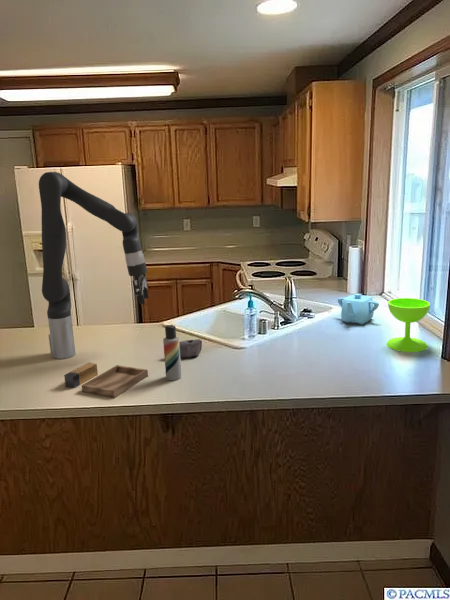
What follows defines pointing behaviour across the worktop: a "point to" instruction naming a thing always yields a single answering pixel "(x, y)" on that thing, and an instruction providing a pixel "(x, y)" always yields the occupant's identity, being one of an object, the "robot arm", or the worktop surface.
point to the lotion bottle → (172, 353)
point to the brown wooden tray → (115, 381)
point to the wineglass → (408, 322)
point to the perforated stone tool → (190, 348)
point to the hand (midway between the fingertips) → (144, 301)
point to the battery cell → (80, 375)
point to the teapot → (357, 308)
